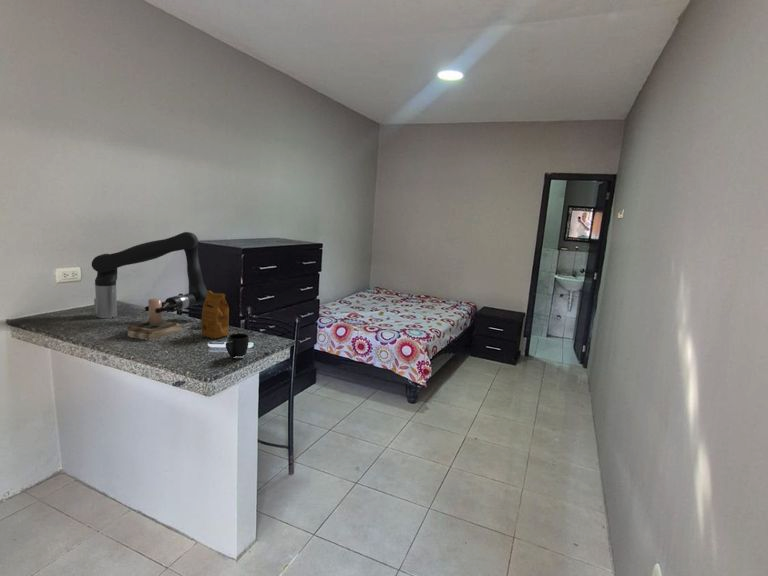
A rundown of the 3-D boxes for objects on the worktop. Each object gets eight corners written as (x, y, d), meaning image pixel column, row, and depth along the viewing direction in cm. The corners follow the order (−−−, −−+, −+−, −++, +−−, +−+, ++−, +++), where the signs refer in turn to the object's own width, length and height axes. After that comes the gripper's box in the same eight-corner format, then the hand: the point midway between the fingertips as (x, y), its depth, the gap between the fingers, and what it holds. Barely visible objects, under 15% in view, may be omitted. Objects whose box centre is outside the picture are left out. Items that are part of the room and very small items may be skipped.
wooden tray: (127, 336, 193) (127, 326, 193) (160, 326, 212) (160, 316, 212) (149, 340, 190) (149, 330, 190) (180, 329, 209) (180, 320, 209)
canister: (146, 324, 199) (145, 300, 196) (155, 321, 204) (154, 298, 202) (155, 326, 197) (155, 301, 195) (164, 323, 203) (164, 299, 200)
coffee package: (214, 330, 213) (215, 288, 209) (231, 336, 207) (232, 292, 203) (197, 334, 205) (197, 291, 201) (214, 340, 199) (214, 295, 195)
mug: (217, 360, 174) (218, 339, 172) (236, 352, 185) (236, 332, 183) (234, 364, 171) (234, 342, 170) (252, 356, 183) (252, 335, 181)
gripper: (165, 294, 214) (138, 300, 198) (189, 298, 210) (163, 304, 194) (165, 308, 215) (138, 315, 199) (189, 312, 212) (163, 319, 196)
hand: (151, 310), depth 197 cm, fingers closed on canister, 5 cm apart
